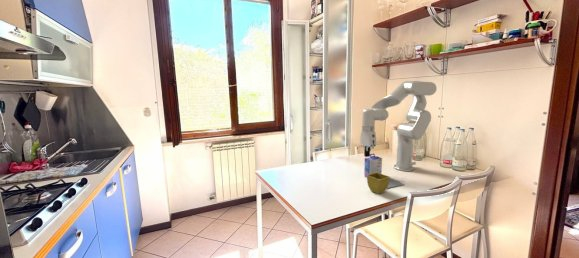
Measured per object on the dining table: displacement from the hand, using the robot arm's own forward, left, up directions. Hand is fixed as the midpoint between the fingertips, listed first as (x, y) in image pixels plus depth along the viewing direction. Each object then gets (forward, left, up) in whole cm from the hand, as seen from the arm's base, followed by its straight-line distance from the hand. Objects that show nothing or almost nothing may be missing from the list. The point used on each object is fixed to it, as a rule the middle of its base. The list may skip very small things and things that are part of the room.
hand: (366, 156), depth 163 cm
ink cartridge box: (0, +6, -12) cm, 13 cm away
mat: (0, +17, -12) cm, 21 cm away
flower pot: (+14, +25, -12) cm, 31 cm away
